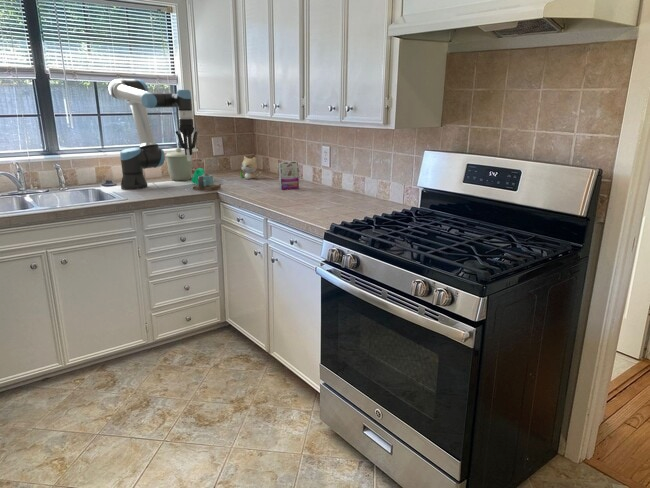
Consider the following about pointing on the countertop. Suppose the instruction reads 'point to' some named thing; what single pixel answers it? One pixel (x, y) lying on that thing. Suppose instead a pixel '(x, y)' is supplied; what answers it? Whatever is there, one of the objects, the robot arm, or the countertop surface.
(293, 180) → the candy bar box
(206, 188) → the post block
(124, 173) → the robot arm
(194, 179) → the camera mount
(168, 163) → the canister
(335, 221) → the countertop surface
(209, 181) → the teal stepped block
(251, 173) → the cream rounded figure
